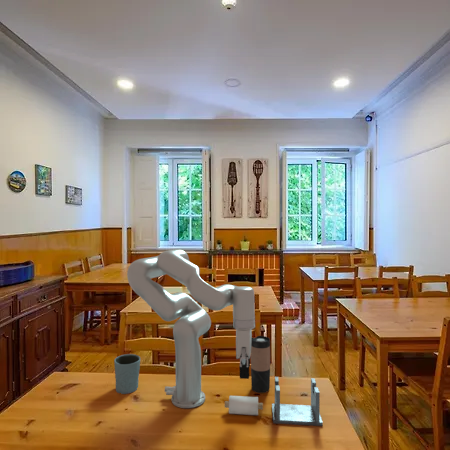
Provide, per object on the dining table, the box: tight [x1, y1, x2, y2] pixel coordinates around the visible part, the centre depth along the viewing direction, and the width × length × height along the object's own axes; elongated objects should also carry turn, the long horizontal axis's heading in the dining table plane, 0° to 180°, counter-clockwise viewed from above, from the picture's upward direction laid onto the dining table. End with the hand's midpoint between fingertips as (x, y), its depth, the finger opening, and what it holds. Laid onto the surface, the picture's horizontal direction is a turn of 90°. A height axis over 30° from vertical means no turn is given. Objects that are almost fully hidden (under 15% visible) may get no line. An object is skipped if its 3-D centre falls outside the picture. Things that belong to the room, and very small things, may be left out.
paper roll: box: [224, 395, 264, 416], centre depth 118 cm, size 13×6×6 cm, turn 84°
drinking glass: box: [113, 353, 141, 395], centre depth 135 cm, size 10×10×12 cm
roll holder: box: [271, 376, 323, 427], centre depth 116 cm, size 16×10×11 cm, turn 84°
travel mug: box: [250, 335, 271, 394], centre depth 135 cm, size 8×8×20 cm
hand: (245, 371), depth 118 cm, fingers open, 9 cm apart
